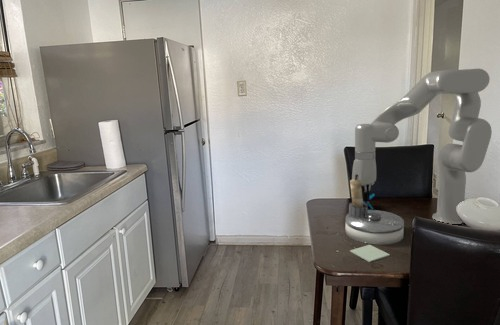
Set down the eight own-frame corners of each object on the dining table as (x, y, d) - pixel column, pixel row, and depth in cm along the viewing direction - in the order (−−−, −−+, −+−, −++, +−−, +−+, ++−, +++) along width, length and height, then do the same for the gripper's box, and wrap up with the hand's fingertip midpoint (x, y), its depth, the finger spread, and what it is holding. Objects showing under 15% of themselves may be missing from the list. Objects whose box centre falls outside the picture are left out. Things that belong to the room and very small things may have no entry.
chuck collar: (414, 222, 131) (415, 208, 130) (384, 238, 118) (385, 223, 117) (365, 209, 147) (365, 197, 146) (334, 222, 135) (334, 209, 134)
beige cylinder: (351, 214, 138) (347, 182, 134) (357, 210, 141) (353, 178, 137) (360, 216, 135) (357, 183, 131) (366, 212, 138) (362, 179, 134)
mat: (369, 245, 123) (369, 244, 123) (389, 255, 115) (389, 254, 115) (349, 251, 119) (349, 250, 119) (369, 262, 111) (369, 261, 111)
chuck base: (373, 219, 148) (373, 210, 147) (416, 236, 129) (416, 226, 128) (334, 229, 139) (334, 220, 138) (373, 249, 120) (374, 238, 119)
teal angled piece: (364, 200, 169) (376, 189, 161) (372, 210, 166) (385, 199, 159) (350, 208, 162) (362, 197, 155) (358, 219, 160) (371, 208, 153)
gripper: (368, 152, 143) (368, 195, 146) (344, 157, 134) (345, 202, 138) (384, 154, 137) (384, 198, 140) (361, 159, 128) (361, 207, 132)
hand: (364, 200), depth 139 cm, fingers closed
